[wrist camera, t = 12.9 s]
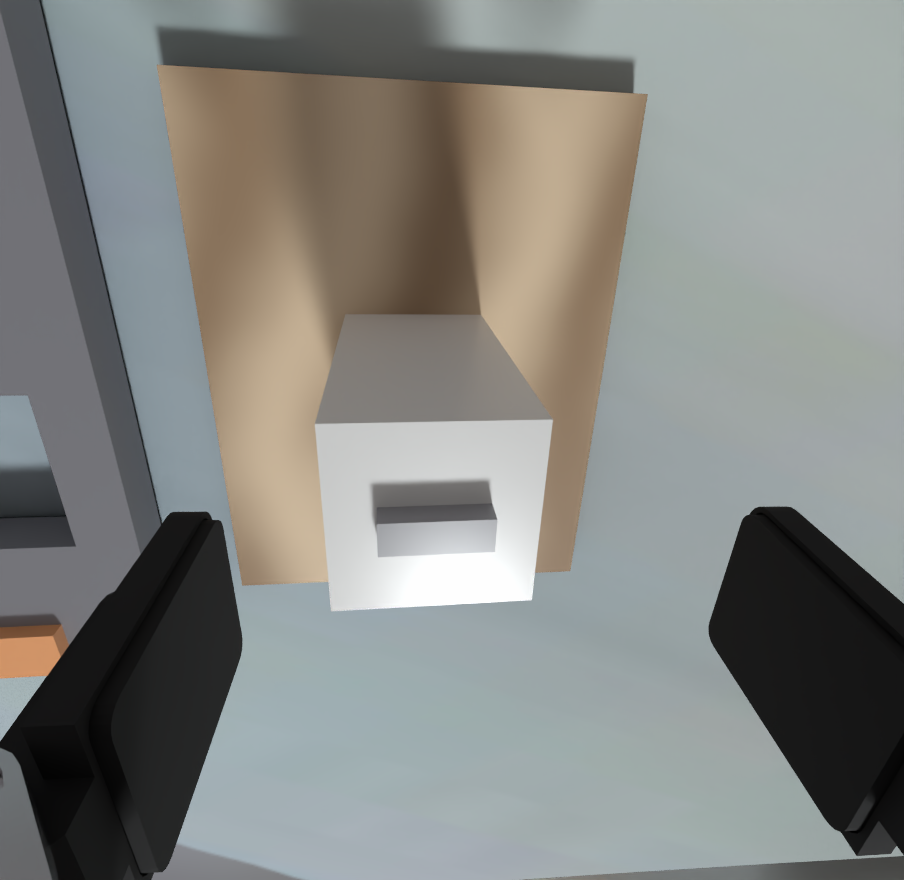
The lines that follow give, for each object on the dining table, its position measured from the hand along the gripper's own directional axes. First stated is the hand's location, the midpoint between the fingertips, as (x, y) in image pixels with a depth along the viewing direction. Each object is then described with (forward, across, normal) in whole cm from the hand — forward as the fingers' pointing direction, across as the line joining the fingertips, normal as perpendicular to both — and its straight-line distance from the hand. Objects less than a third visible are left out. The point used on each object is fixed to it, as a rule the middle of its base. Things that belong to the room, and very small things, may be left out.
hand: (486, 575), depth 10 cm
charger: (+11, +1, 0) cm, 11 cm away
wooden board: (+12, +1, 0) cm, 12 cm away
